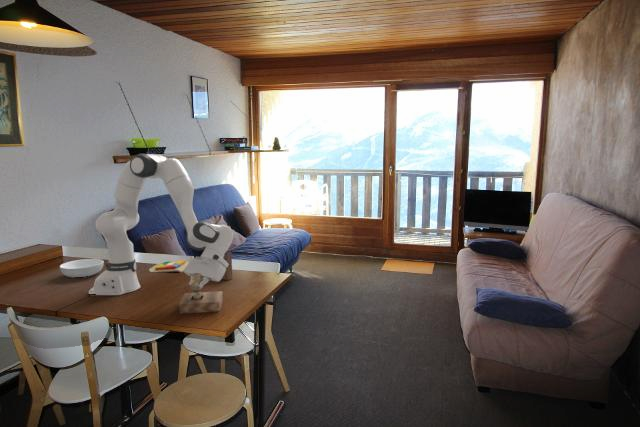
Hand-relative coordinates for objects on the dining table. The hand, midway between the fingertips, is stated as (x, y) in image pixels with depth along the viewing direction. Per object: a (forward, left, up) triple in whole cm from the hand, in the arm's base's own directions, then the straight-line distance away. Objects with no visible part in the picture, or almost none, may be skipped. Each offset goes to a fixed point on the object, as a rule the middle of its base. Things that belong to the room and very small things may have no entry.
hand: (195, 286), depth 185 cm
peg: (0, 0, -6) cm, 6 cm away
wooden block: (+7, +41, -9) cm, 43 cm away
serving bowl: (-69, +60, -9) cm, 92 cm away
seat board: (+2, 0, -9) cm, 9 cm away
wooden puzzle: (-24, +66, -10) cm, 71 cm away
